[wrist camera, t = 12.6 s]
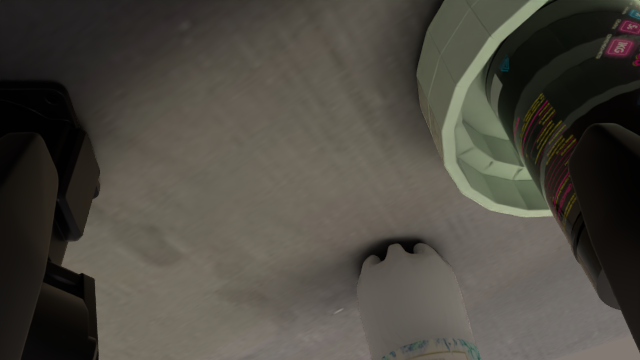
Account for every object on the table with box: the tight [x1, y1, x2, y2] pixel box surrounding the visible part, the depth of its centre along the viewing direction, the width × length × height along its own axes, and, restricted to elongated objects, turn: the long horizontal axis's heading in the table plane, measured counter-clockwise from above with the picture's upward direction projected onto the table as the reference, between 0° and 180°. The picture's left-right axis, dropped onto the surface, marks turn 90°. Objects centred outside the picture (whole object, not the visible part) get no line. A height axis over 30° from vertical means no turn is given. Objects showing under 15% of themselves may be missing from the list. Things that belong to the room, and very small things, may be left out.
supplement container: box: [485, 0, 640, 310], centre depth 18 cm, size 7×7×10 cm
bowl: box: [416, 0, 640, 217], centre depth 20 cm, size 13×13×4 cm
